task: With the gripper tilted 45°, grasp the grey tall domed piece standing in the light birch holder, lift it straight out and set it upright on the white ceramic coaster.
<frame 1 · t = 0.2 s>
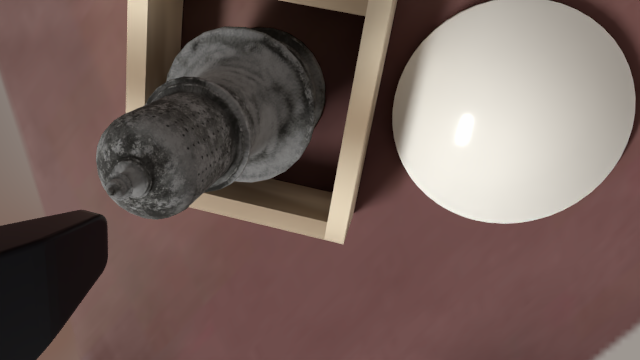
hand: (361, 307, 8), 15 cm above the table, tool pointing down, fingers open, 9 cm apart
birch holder: (265, 90, 23), on the table
grey tall domed piece: (267, 89, 23), resting in birch holder
coaster: (505, 115, 21), on the table
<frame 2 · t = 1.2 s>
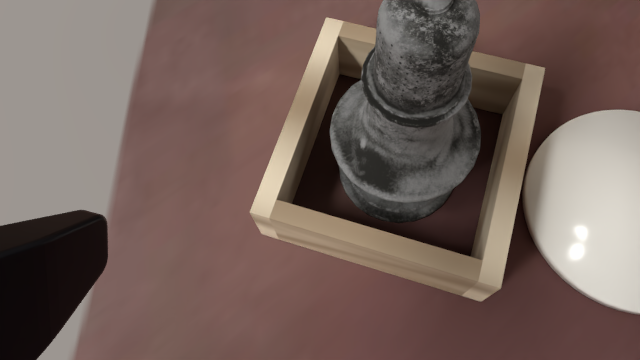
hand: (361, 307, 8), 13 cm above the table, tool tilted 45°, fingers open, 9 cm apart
birch holder: (397, 166, 24), on the table
grey tall domed piece: (396, 168, 24), resting in birch holder
coaster: (629, 208, 22), on the table
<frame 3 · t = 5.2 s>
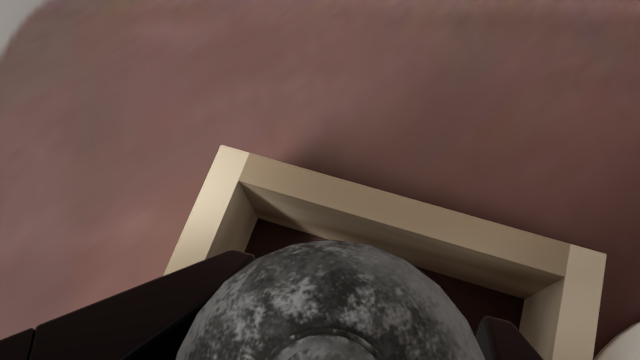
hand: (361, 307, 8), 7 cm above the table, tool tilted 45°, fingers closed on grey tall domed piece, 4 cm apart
when the fingers open (8 cm above the table, at t = 8.7 s): grey tall domed piece stays where it is, resting on coaster.
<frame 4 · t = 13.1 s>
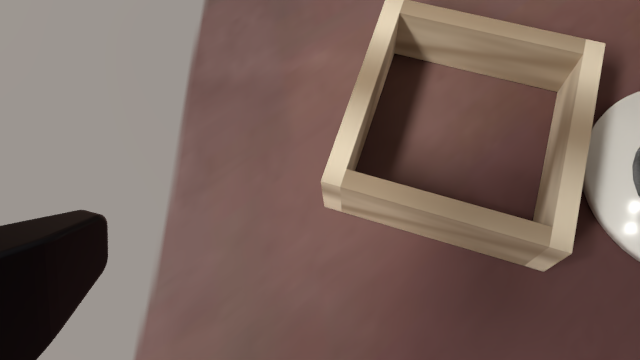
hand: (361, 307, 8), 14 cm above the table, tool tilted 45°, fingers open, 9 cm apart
birch holder: (455, 142, 24), on the table
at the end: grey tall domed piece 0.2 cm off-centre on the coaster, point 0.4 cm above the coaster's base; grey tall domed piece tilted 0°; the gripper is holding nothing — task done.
